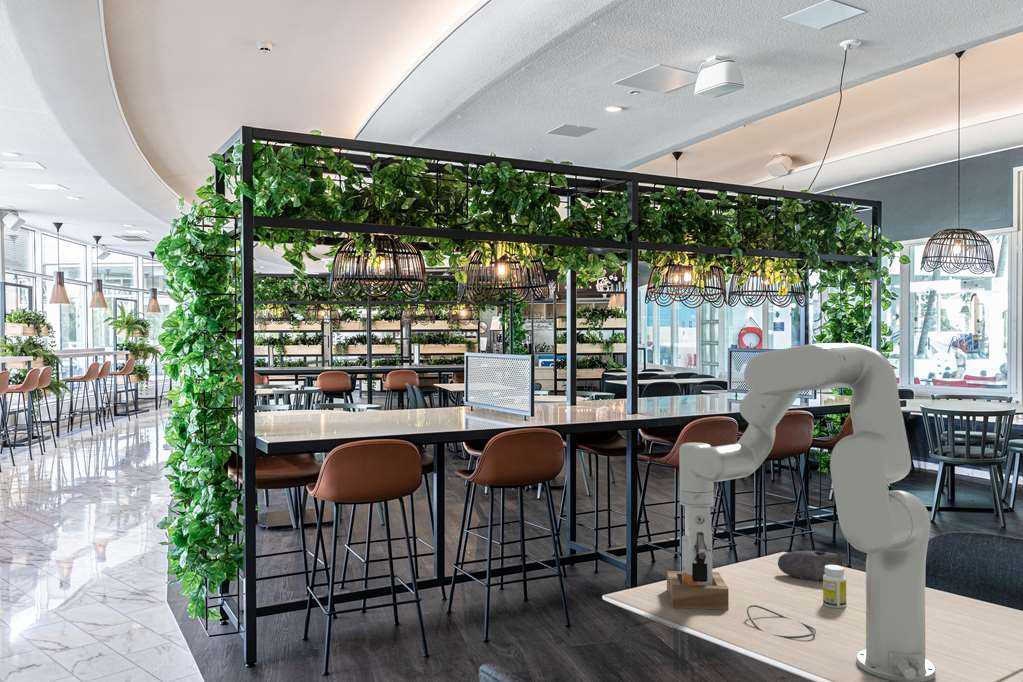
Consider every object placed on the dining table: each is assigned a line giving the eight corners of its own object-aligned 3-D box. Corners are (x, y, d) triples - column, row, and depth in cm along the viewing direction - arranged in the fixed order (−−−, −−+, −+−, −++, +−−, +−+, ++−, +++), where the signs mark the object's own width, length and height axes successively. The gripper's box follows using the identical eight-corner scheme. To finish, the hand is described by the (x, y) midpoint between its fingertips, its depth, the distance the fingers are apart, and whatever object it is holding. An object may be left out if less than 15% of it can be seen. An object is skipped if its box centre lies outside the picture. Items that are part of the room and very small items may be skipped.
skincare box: (681, 587, 174) (680, 535, 174) (696, 585, 176) (695, 533, 176) (698, 595, 169) (697, 541, 169) (713, 592, 171) (713, 539, 171)
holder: (728, 609, 166) (728, 588, 166) (672, 607, 167) (672, 587, 167) (718, 591, 178) (718, 572, 178) (666, 590, 179) (666, 570, 179)
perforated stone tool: (775, 577, 189) (775, 549, 189) (779, 571, 194) (779, 544, 194) (841, 586, 182) (840, 557, 182) (843, 580, 186) (843, 552, 186)
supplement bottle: (842, 601, 171) (842, 564, 171) (849, 609, 166) (849, 570, 166) (820, 601, 171) (820, 563, 171) (826, 608, 167) (826, 570, 167)
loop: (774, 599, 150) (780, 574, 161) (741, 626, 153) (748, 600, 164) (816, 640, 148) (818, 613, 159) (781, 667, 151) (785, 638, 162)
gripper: (720, 506, 164) (720, 588, 163) (707, 490, 181) (707, 565, 181) (684, 505, 164) (685, 587, 164) (675, 490, 182) (675, 564, 182)
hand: (697, 575), depth 173 cm, fingers closed on skincare box, 7 cm apart
